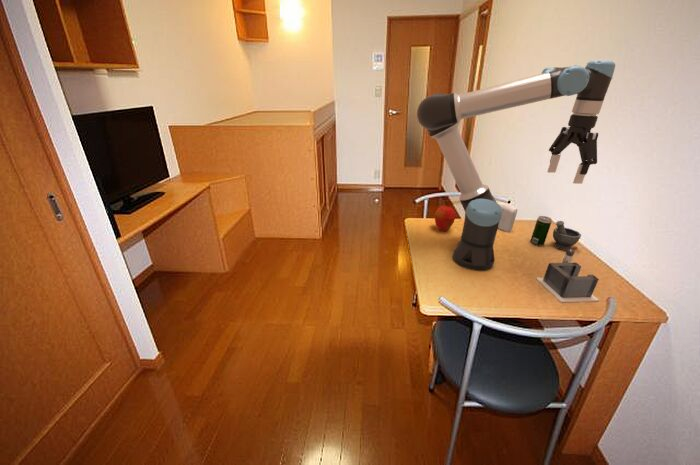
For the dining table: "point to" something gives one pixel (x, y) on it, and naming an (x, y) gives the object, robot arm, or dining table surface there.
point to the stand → (568, 256)
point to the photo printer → (507, 217)
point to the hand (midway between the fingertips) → (563, 177)
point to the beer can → (541, 230)
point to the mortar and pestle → (565, 236)
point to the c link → (569, 280)
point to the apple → (444, 217)
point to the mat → (558, 297)
